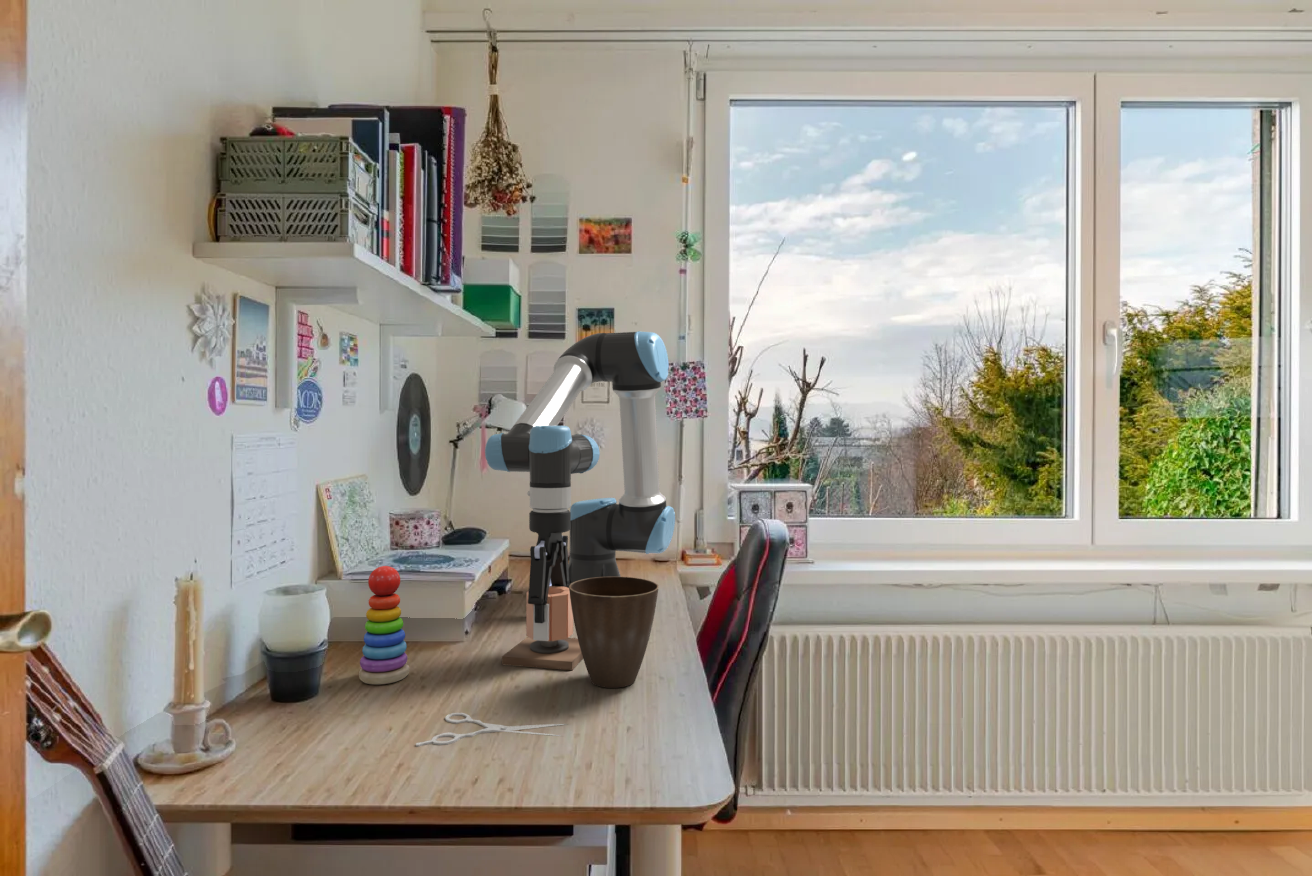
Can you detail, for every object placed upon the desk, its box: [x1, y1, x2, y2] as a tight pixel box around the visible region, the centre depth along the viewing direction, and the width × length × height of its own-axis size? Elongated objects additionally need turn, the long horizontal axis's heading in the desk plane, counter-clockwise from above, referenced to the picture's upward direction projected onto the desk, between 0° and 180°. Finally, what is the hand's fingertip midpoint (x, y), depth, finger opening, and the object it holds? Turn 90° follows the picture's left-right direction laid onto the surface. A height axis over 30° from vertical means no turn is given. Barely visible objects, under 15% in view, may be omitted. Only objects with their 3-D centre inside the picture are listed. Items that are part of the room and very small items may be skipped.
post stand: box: [501, 594, 584, 671], centre depth 135 cm, size 13×13×11 cm
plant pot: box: [569, 576, 659, 689], centre depth 123 cm, size 15×15×16 cm
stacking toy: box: [358, 565, 410, 685], centre depth 123 cm, size 8×8×19 cm
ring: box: [525, 586, 574, 641], centre depth 135 cm, size 8×8×8 cm
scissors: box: [415, 712, 566, 748], centre depth 103 cm, size 11×1×20 cm
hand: (549, 632), depth 135 cm, fingers closed on ring, 8 cm apart
